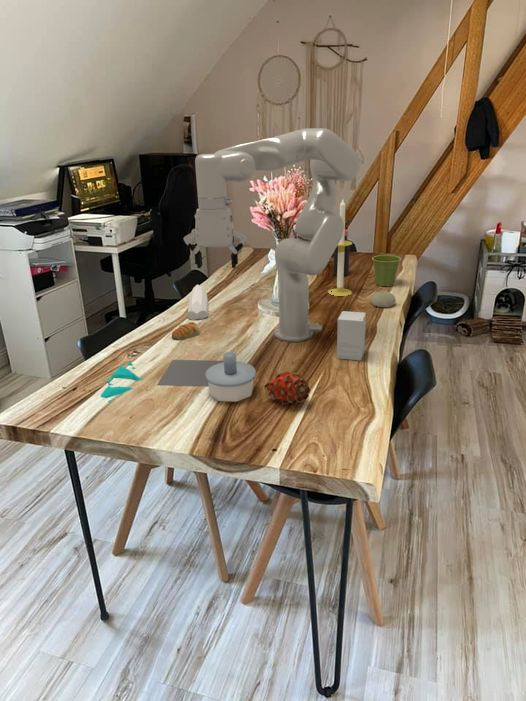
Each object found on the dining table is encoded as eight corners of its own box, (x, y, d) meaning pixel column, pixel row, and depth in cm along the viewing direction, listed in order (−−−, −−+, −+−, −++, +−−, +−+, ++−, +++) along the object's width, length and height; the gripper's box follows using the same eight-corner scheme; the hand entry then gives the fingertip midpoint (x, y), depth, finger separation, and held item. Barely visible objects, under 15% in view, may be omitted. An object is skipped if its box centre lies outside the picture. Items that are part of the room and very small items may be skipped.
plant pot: (402, 282, 220) (405, 256, 216) (393, 290, 211) (395, 263, 207) (376, 279, 226) (378, 253, 222) (366, 286, 217) (367, 259, 213)
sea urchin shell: (368, 303, 192) (371, 284, 194) (370, 312, 199) (373, 294, 201) (393, 305, 189) (396, 286, 191) (394, 314, 196) (397, 296, 198)
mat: (225, 362, 154) (225, 360, 153) (214, 387, 139) (214, 386, 139) (172, 360, 155) (172, 359, 155) (156, 386, 141) (156, 384, 141)
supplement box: (364, 351, 158) (367, 312, 153) (361, 361, 151) (363, 321, 146) (340, 348, 160) (342, 310, 155) (335, 358, 154) (337, 318, 148)
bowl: (255, 382, 141) (254, 366, 139) (249, 403, 131) (248, 385, 129) (215, 381, 142) (214, 365, 140) (206, 401, 132) (205, 384, 130)
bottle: (333, 272, 237) (334, 228, 229) (348, 272, 236) (350, 228, 228) (333, 277, 231) (334, 231, 223) (348, 277, 230) (350, 231, 222)
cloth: (124, 410, 131) (123, 403, 130) (75, 406, 134) (74, 398, 133) (164, 366, 154) (163, 359, 153) (122, 363, 157) (121, 356, 156)
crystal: (184, 291, 206) (180, 311, 184) (199, 281, 205) (197, 301, 183) (194, 306, 209) (192, 327, 187) (209, 296, 208) (209, 317, 186)
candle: (357, 293, 209) (362, 197, 194) (338, 298, 204) (342, 200, 188) (340, 287, 217) (343, 194, 201) (322, 292, 211) (324, 197, 196)
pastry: (180, 342, 169) (178, 331, 167) (167, 337, 173) (165, 327, 171) (201, 334, 175) (200, 323, 173) (188, 329, 179) (187, 319, 178)
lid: (258, 364, 140) (257, 344, 138) (252, 387, 128) (251, 366, 126) (211, 363, 141) (209, 344, 139) (200, 386, 130) (199, 365, 127)
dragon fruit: (312, 412, 129) (268, 410, 134) (317, 382, 133) (274, 381, 138) (302, 397, 123) (256, 396, 127) (308, 366, 127) (263, 365, 131)
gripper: (247, 201, 139) (249, 263, 146) (184, 202, 141) (189, 263, 148) (242, 205, 133) (245, 270, 140) (177, 206, 135) (183, 270, 142)
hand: (217, 267), depth 144 cm, fingers open, 9 cm apart
